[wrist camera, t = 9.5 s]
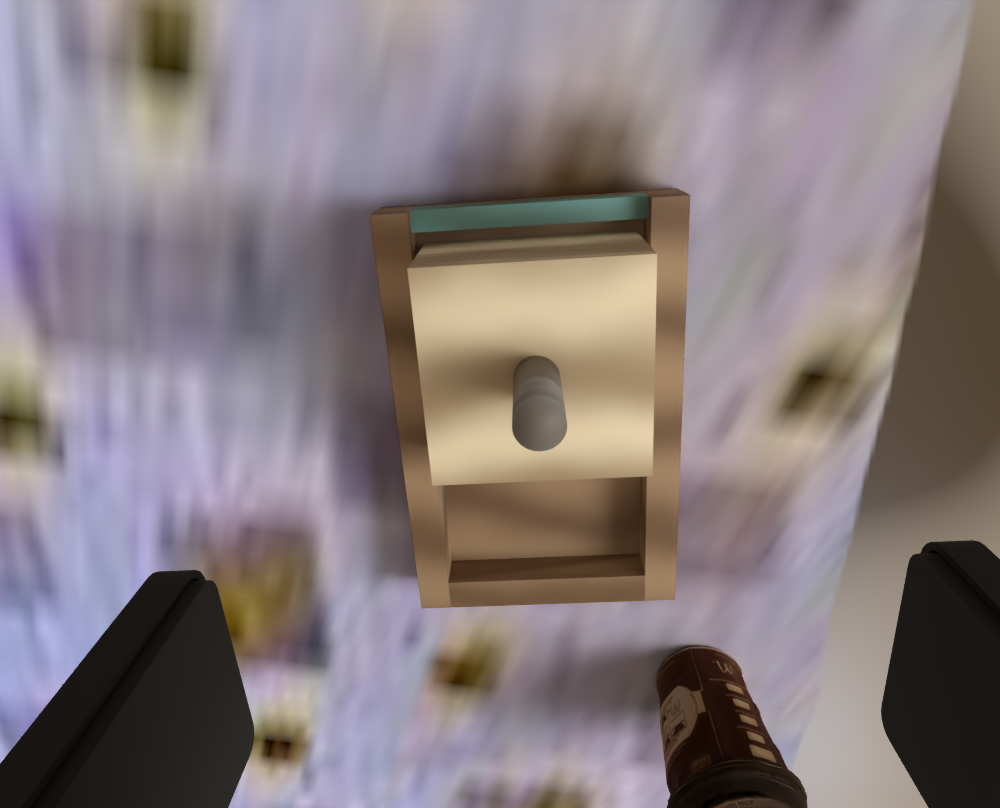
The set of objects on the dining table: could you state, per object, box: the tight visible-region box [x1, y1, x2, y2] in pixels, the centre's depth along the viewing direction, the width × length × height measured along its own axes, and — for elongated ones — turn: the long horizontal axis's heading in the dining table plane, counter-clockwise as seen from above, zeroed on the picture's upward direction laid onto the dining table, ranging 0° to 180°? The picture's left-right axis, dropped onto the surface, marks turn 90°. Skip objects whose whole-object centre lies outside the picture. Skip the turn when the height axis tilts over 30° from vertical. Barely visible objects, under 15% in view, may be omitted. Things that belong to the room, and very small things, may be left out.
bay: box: [370, 189, 690, 608], centre depth 44 cm, size 26×17×3 cm, turn 4°
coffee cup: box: [657, 646, 807, 808], centre depth 48 cm, size 9×8×13 cm
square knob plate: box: [407, 230, 657, 486], centre depth 37 cm, size 12×12×13 cm
